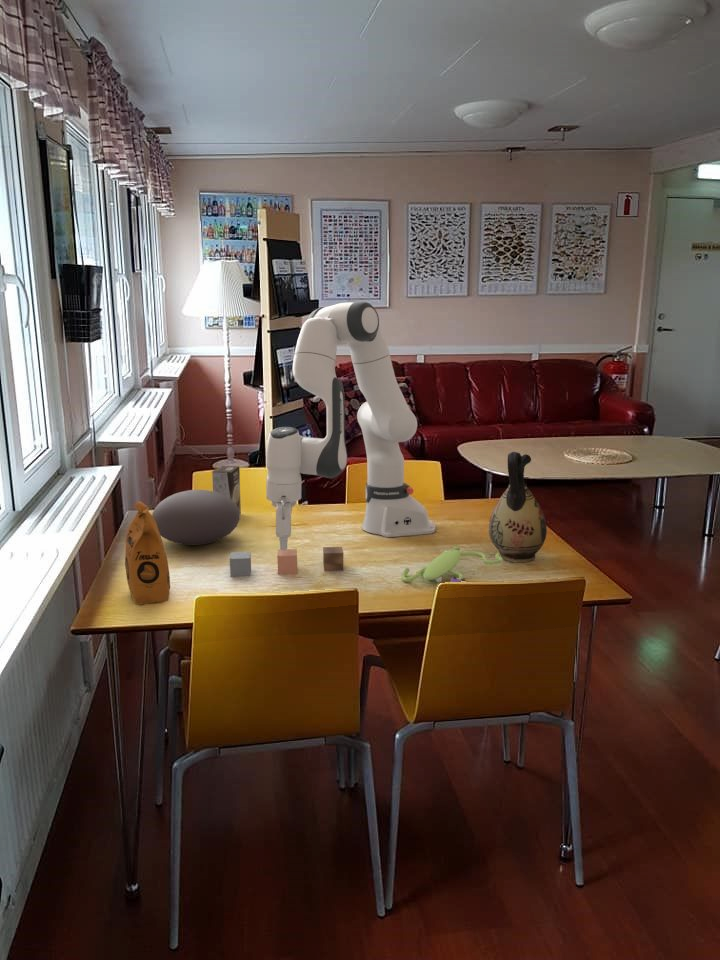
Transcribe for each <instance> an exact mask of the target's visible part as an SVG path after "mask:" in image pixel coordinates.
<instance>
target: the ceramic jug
mask: <svg viewBox="0 0 720 960" xmlns="http://www.w3.org/2000/svg"><path fill="white" fill-rule="evenodd" d="M531 462H532V458H531V456H530V455H529V454H526V453H525V454H523V455H521V453H520V452H517V451H512V452H510V453H508V455H507V473H508V479H509V484H508V487H507V488H506V489H505V490H504V492H503V493H502V495H501V496H500V497H499V499H498V500H497V503H496V504H495V506H494V508H493V509H492V511H491V514H490V518H489V524H488V534H489V538H490V540H491V543H492V544H493V546H494V547H495V548H496V549H497V551H498V553H499V554H500V557H502V559H503V560H505V561H507V562H509V563H521V562H522V563H525V562H532V561H534V560H535V559H536V554H537V553H538V552H539V551H540V550H541V548H542V547H543V546H544V544H545V541H546V538H547V534H548V530H547V523H546V518H545V514H544V512H543V510H542V507H541V506H540V503H539V502H538V501H537V499H536V497H535V495H534V494H533V492H532V491H531V490H530V489H529V488H528V486H527V484H526V482H525V468H526V465H528V464H530V463H531Z"/></svg>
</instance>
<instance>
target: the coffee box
mask: <svg viewBox="0 0 720 960" xmlns="http://www.w3.org/2000/svg"><path fill="white" fill-rule="evenodd" d="M240 470H241V469H240V466H238V465H221V466H219V467H217V468H216V469H214V470H212V471H211V473H212V474H211V475H212V491H214V492H217V493H220V494H223V495H225V496H227V497H228V498H230V499H231V500H232V501H233V502H234V503H235V504H236V505H237V507H238V509H239V512H240V515H241V513H242V512H241V511H242V507H241V505H242V504H241V479H240V478H241V477H240V475H241V473H240Z"/></svg>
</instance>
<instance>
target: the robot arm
mask: <svg viewBox="0 0 720 960" xmlns="http://www.w3.org/2000/svg"><path fill="white" fill-rule="evenodd" d="M379 317H380V316H379V314H378V312H377V310H376V309H375V307H374V306H373V305H372V304H371V303H369V302H366V301H360V300H359V301H358V300H357V301H354V302H350V301H349V302H340V303H336V304H333V305H328V306H322V307H319V308H316V309H315V310H313V311H312V312H311V313H310V314H309V315H308V318H307V320H305V322H304V323H303V324H302V327H301V329H300V331H299V332H300V333H299V335H298V338H297V341H296V346H295V349H294V356H293V360H292V376H293V378H294V380H295V382H296V384H298V386H299V387H301V389H303V390H305V391H307V392H309V393H310V394H312V395H314V396H316V397H318V398H320V399H321V400H322V401H323V402H324V404H325V409H326V435H325V437H324V438H320V437H308V436H303V435H300V431H299V430H298V429H297V428H295V427H291V426H281V427H276V428H274V429H273V430H271V431H270V432H269V434H268V437H267V442H266V451H265V452H266V455H265V456H266V458H265V464H266V468H267V475H266V482H265V483H266V499H267V500H268V501H270V502H271V505H272V507H275V535H276V537H277V538H279V550H287V549H288V541H289V540H288V539H289V538H290V537H291V535H292V511H293V507H295V506H296V505H297V501H301V499H302V476H301V474H303V475H314V476H319V477H322V478H327V479H334V478H336V477H337V476H339V475H341V474H342V473H343V472H344V471H345V469H346V467H347V463H348V452H347V444H346V443H347V442H346V410H345V409H346V405H345V404H346V403H345V400H346V399H345V390H344V384H343V382H342V381H341V380H340V379H339V378H338V377H337V374H336V369H335V368H336V360H337V349H338V348H337V346H338V345H339V346H340V345H341V346H342V345H348V348H349V354H350V357H351V363H352V366H353V370H354V374H355V378H356V383H357V385H358V389H359V390H360V392H361V394H362V395H363V396H364V399H365V400H366V401H365V402H363V403H362V404H361V406H360V407H359V408H358V411H357V415H356V418H357V423H358V425H359V427H360V429H361V432H362V436H363V437H362V438H363V442H364V447H365V452H366V453H365V454H366V460H367V463H366V464H367V466H366V467H367V469H366V470H367V471H366V472H367V474H366V475H367V482H366V483H365V493H364V494H365V496H364V497H365V502H366V505H365V512H364V517H363V522H362V525H361V529H362V530H363V531H364V532H367V533H370V534H375V535H379V536H383V537H385V538H393V537H394V538H395V537H404V536H417V535H418V536H419V535H427V534H429V535H430V534H434V533H435V532H436V525H435V522H434V521H433V520H431V519H429V516H428V511H427V509H426V507H425V505H424V504H422V503H421V502H419V501H418V500H417V499H416V498H414V497H413V496H412V495H413V493H414V488H413V487H412V486H410V485H409V484H408V483H407V482H406V483H405V479H404V478H405V458H404V455H403V453H402V451H401V448H400V444H399V443H404V442H407V441H409V440H411V439H413V437H414V436H415V434H416V432H417V428H418V420H417V417H416V416H415V414H414V412H413V411H412V410H411V408H410V407H409V405H408V403H407V400H406V399H405V397H404V395H403V392H402V390H401V388H400V386H399V383H398V381H397V378H396V375H395V370H394V367H393V366H394V365H393V362H392V359H391V358H392V357H391V354H390V350H389V346H388V344H387V340H386V338H385V335H384V332H383V330H382V328H381V325H380V318H379Z"/></svg>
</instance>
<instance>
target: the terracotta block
mask: <svg viewBox="0 0 720 960" xmlns="http://www.w3.org/2000/svg"><path fill="white" fill-rule="evenodd" d="M276 559H277V574H278V575H292V574H294V575H295V574H298V549H297V548H292V549H291V548H290V549H288V548H287V550H280V549H277V558H276Z"/></svg>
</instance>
